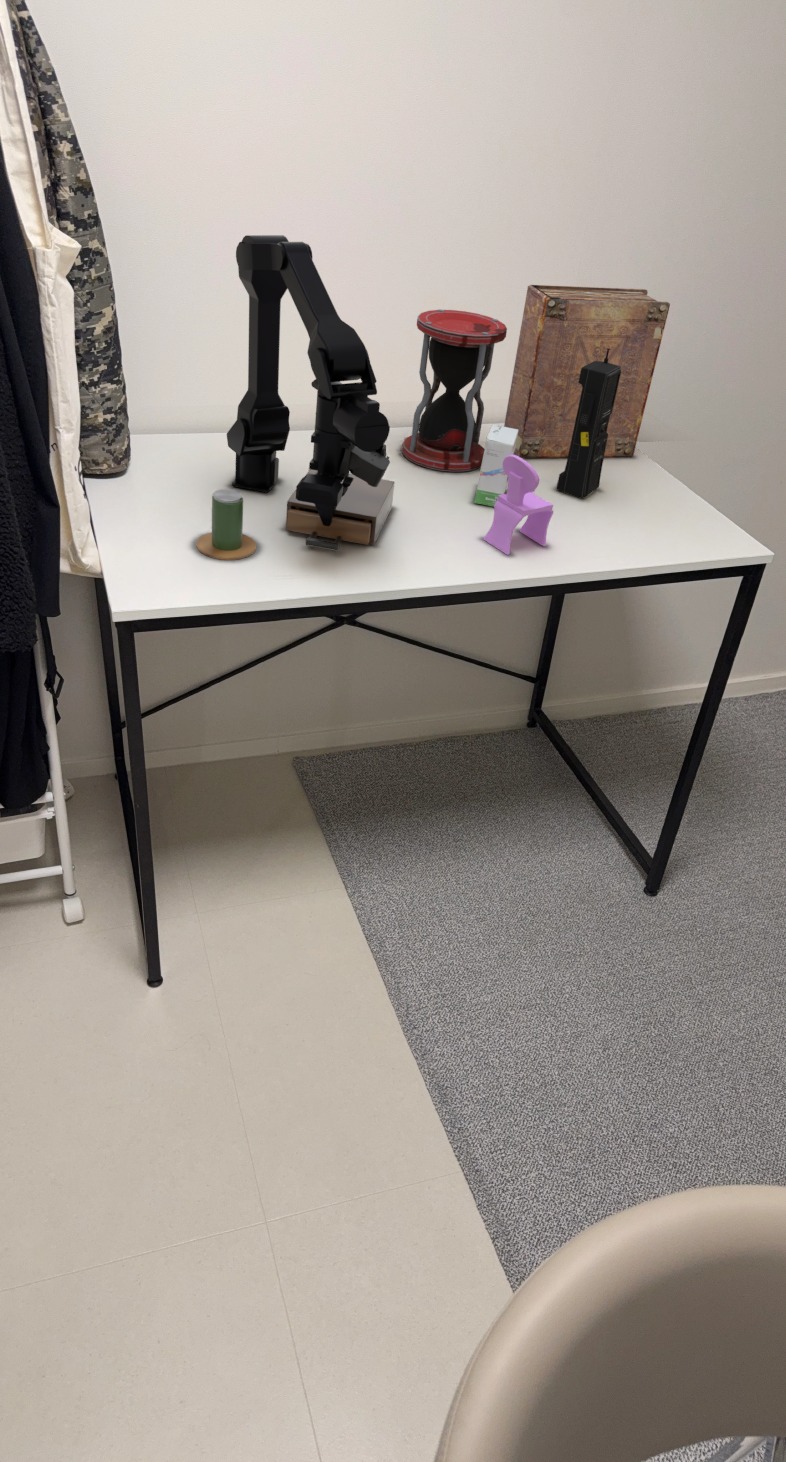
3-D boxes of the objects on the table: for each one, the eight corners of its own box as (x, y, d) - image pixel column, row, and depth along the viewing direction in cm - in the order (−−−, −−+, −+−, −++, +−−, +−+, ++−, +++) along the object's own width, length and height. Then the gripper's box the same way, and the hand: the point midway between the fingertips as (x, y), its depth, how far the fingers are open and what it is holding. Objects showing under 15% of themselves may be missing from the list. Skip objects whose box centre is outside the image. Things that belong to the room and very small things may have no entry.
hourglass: (430, 476, 191) (449, 336, 177) (386, 444, 202) (400, 310, 188) (501, 467, 199) (525, 332, 184) (455, 437, 210) (474, 307, 195)
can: (236, 552, 158) (237, 503, 153) (207, 547, 158) (207, 497, 153) (245, 540, 161) (247, 491, 157) (217, 535, 162) (217, 486, 157)
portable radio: (583, 502, 189) (614, 362, 175) (553, 492, 192) (581, 353, 177) (599, 489, 195) (631, 353, 180) (570, 480, 197) (599, 345, 183)
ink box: (479, 486, 190) (490, 422, 183) (507, 491, 190) (519, 427, 183) (473, 503, 183) (484, 438, 176) (502, 509, 183) (514, 443, 176)
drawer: (362, 556, 161) (364, 536, 159) (279, 541, 162) (280, 521, 160) (385, 510, 175) (387, 491, 173) (309, 497, 177) (310, 478, 175)
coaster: (188, 553, 157) (188, 551, 156) (207, 529, 164) (207, 527, 164) (246, 564, 156) (246, 561, 156) (263, 539, 163) (263, 537, 163)
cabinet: (373, 545, 165) (376, 517, 163) (285, 529, 167) (287, 501, 164) (391, 508, 178) (394, 481, 175) (309, 493, 179) (311, 466, 176)
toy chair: (551, 548, 172) (570, 460, 163) (511, 557, 167) (529, 468, 159) (518, 527, 177) (535, 442, 168) (479, 536, 172) (494, 449, 164)
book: (612, 440, 218) (648, 289, 201) (633, 457, 211) (672, 302, 194) (500, 441, 211) (527, 284, 193) (518, 458, 204) (548, 297, 186)
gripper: (375, 458, 145) (365, 559, 154) (399, 416, 160) (388, 511, 169) (297, 444, 146) (291, 546, 155) (329, 404, 161) (322, 499, 170)
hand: (326, 525), depth 162 cm, fingers closed
